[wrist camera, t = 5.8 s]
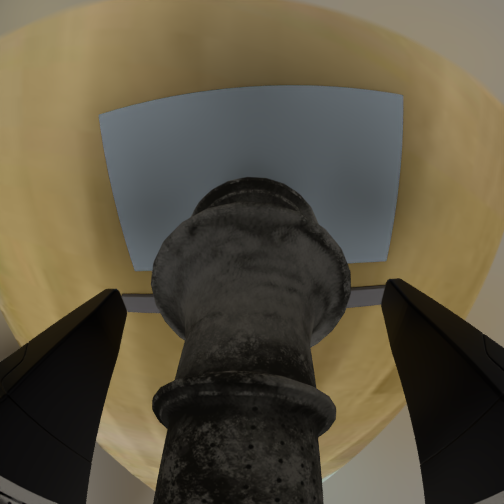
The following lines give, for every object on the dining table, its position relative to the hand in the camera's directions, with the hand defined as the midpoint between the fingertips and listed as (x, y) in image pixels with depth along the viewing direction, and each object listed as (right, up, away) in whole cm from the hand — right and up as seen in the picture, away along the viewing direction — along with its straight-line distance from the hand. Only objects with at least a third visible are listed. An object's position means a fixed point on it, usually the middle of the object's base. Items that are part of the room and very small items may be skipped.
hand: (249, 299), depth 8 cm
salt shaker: (0, +2, +3) cm, 4 cm away
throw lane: (0, +3, +7) cm, 8 cm away
